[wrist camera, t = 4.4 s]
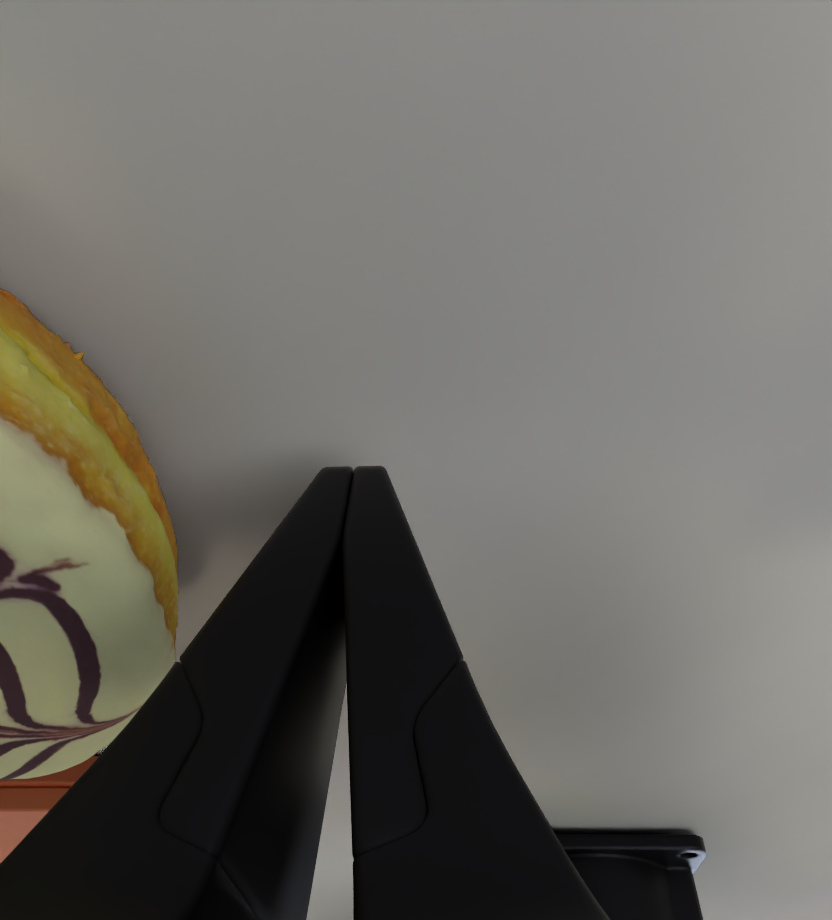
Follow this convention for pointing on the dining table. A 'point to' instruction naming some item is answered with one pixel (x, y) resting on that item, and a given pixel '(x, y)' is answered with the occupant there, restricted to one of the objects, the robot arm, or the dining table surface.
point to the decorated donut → (74, 557)
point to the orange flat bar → (32, 802)
